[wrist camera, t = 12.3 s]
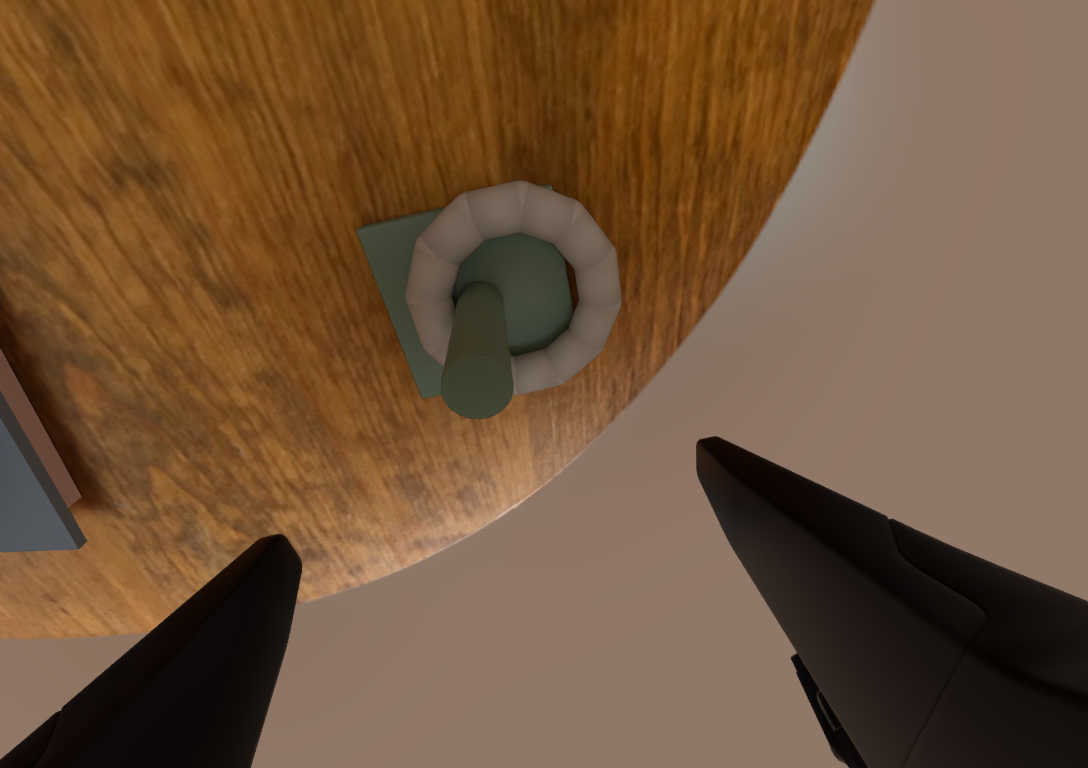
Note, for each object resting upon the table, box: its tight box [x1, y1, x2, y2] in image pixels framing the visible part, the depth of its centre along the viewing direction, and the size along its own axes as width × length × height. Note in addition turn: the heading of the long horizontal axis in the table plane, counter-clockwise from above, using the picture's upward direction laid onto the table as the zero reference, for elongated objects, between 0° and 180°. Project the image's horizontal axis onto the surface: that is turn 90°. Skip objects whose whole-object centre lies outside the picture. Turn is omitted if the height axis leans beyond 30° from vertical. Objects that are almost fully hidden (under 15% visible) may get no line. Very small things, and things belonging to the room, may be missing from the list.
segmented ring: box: [405, 180, 622, 396], centre depth 18 cm, size 9×9×2 cm
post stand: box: [356, 184, 574, 419], centre depth 16 cm, size 8×8×9 cm
